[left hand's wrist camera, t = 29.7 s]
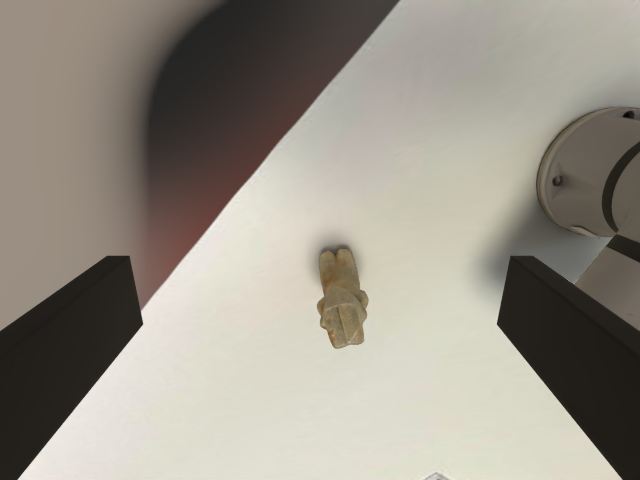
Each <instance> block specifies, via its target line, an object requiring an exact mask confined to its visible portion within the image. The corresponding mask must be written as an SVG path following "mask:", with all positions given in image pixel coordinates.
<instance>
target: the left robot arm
mask: <svg viewBox="0 0 640 480" xmlns="http://www.w3.org/2000/svg"><path fill="white" fill-rule="evenodd" d="M537 192H538V198H539V201H540V204H541V207H542V208H543V210H544V212H545V213H546V215H547V216H548V217H549V218H550V219H551V220H552V221H553V222H555V223H556V224H558V225H559V226H561V227H563V228H565V229H567V230H569V231H571V232H574V233H577V234H580V235H585V236H588V237H594V238H600V237H598V236H605V237H613V238H612V239H611V241H610V242H609V243H608V244H607V246H606V247H605V248H604V249H603V250H602V252H601V253H600V254H599V255H598V256H597V258H596V259H595V260H594V261H593V263H592V264H591V265H590V266H589V267H588V269H587V270H586V271H585V272H584V273H583V275H582V276H581V277H580V278H579V279H578V281H577V282H576V283H575V284H572V283H571V282H569V281H568V280H566V279H565V278H564V277H562V276H561V275H559V274H558V273H556V272H555V271H554V270H552V269H551V268H549V267H548V266H547V265H545V264H544V263H542V262H541V261H539V260H538V259H537V258H535V257H534V256H510V261H509V266H508V271H507V276H506V281H505V286H504V291H503V296H502V301H501V306H500V311H499V316H498V321H497V325H498V326H499V328H500V329H501V330H502V331H503V333H504V334H505V335H506V336H507V337H508V339H509V340H510V341H511V342H512V344H513V345H514V346H515V347H516V349H517V350H518V351H519V352H520V354H521V355H522V356H523V357H524V358H525V360H526V361H527V362H528V363H529V365H530V366H531V367H532V368H533V370H534V371H535V372H536V373H537V375H538V376H539V377H540V378H541V379H542V381H543V382H544V383H545V384H546V386H547V387H548V388H549V389H550V391H551V392H552V393H553V394H554V396H555V397H556V398H557V399H558V400H559V402H560V403H561V404H562V405H563V407H564V408H565V409H566V410H567V412H568V413H569V414H570V415H571V417H572V418H573V419H574V420H575V421H576V423H577V424H578V425H579V426H580V428H581V429H582V430H583V431H584V433H585V434H586V435H587V436H588V438H589V439H590V440H591V441H592V442H593V444H594V445H595V446H596V447H597V449H598V450H599V451H600V452H601V454H602V455H603V456H604V457H605V459H606V460H607V461H608V462H609V464H610V465H611V466H612V467H613V468H614V470H615V471H616V472H617V473H618V475H619V476H620V477H621V478H622V480H640V108H629V107H618V108H606V109H602V110H598V111H595V112H592V113H590V114H588V115H585V116H584V117H582V118H580V119H578V120H577V121H575V122H574V123H572V124H571V125H570V126H568V127H567V128H566V129H565V130H564V131H563V132H562V133H561V134H560V135H559V136H558V137H557V138H556V139H555V140H554V142H553V143H552V144H551V146H550V147H549V149H548V151H547V152H546V154H545V156H544V158H543V160H542V163H541V166H540V169H539V173H538V179H537ZM142 325H143V321H142V316H141V311H140V306H139V301H138V296H137V291H136V286H135V281H134V276H133V271H132V266H131V261H130V256H106V257H105V258H103V259H102V260H101V261H99V262H98V263H96V264H95V265H93V266H92V267H91V268H89V269H88V270H86V271H85V272H84V273H82V274H81V275H79V276H78V277H76V278H75V279H74V280H72V281H71V282H69V283H68V284H67V285H65V286H64V287H62V288H61V289H59V290H58V291H57V292H55V293H54V294H52V295H51V296H50V297H48V298H47V299H45V300H44V301H42V302H41V303H40V304H38V305H37V306H35V307H34V308H33V309H31V310H30V311H28V312H27V313H25V314H24V315H23V316H21V317H20V318H18V319H17V320H16V321H14V322H13V323H11V324H10V325H8V326H7V327H5V328H4V329H3V330H1V331H0V480H18V478H19V477H20V476H21V475H22V473H23V472H24V471H25V470H26V468H27V467H28V466H29V465H30V464H31V462H32V461H33V460H34V459H35V457H36V456H37V455H38V454H39V452H40V451H41V450H42V449H43V447H44V446H45V445H46V444H47V442H48V441H49V440H50V439H51V438H52V436H53V435H54V434H55V433H56V431H57V430H58V429H59V428H60V426H61V425H62V424H63V423H64V421H65V420H66V419H67V418H68V417H69V415H70V414H71V413H72V412H73V410H74V409H75V408H76V407H77V405H78V404H79V403H80V402H81V400H82V399H83V398H84V397H85V396H86V394H87V393H88V392H89V391H90V389H91V388H92V387H93V386H94V384H95V383H96V382H97V381H98V379H99V378H100V377H101V376H102V375H103V373H104V372H105V371H106V370H107V368H108V367H109V366H110V365H111V363H112V362H113V361H114V360H115V358H116V357H117V356H118V355H119V354H120V352H121V351H122V350H123V349H124V347H125V346H126V345H127V344H128V342H129V341H130V340H131V339H132V337H133V336H134V335H135V334H136V333H137V331H138V330H139V329H140V328H141V326H142Z"/></svg>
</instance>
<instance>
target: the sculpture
mask: <svg viewBox="0 0 640 480" xmlns="http://www.w3.org/2000/svg"><path fill="white" fill-rule="evenodd" d="M319 268H320V277H321V283H322V288H323V293H324V297H323V298H322V299H321V300H320V301H319V302H318V304H317V309H318V312H319V314H320V315H321V319H320V326H321V327H322V328H324V329H326V330H327V332H328V335H329V339H330V341H331V343H332V345H333V347H334V348H336V349H339V348H343V347H346V346H348V345H358V344H361V343H363V342H364V332H363V326H362V324H363V322H364V320H365V319H366V318H367V312H366V310H365V309H366V307H367V305H368V297H367V294H366V293H365V291H362V290H360V283H359V277H358V273H357V268H356V264H355V261H354V258H353V254H352V252H351V251H350V250H348V249H339V250H338V251H337V254H336V255H334V254H333V253H332V252H330V251H326V252H324V253H323V254H321V256H320V258H319Z"/></svg>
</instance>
